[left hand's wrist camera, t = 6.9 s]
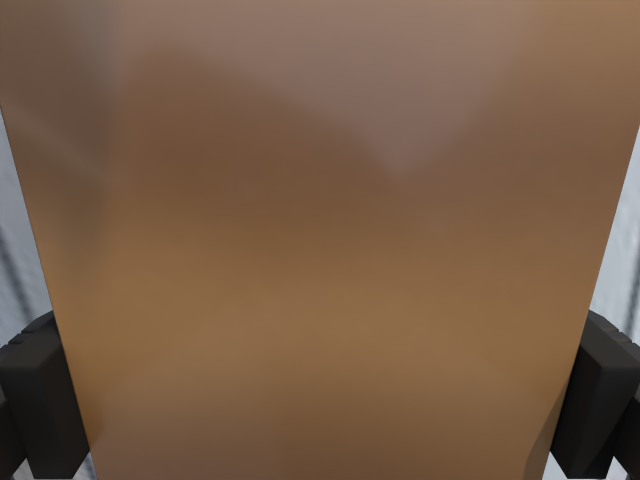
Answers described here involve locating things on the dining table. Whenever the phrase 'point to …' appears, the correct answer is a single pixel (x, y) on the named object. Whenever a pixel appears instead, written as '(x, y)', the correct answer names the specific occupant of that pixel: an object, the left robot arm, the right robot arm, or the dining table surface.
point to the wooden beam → (320, 224)
